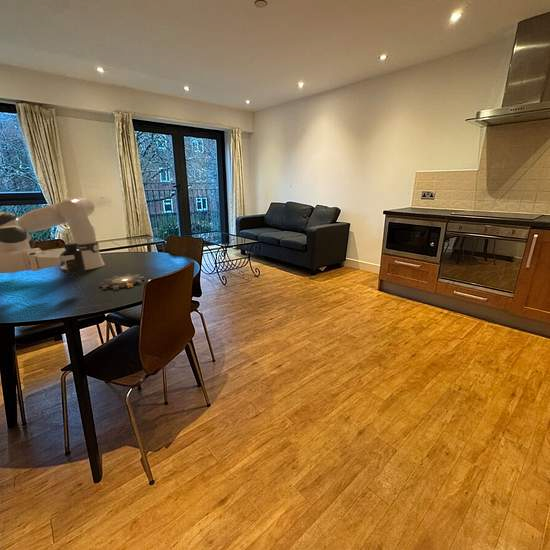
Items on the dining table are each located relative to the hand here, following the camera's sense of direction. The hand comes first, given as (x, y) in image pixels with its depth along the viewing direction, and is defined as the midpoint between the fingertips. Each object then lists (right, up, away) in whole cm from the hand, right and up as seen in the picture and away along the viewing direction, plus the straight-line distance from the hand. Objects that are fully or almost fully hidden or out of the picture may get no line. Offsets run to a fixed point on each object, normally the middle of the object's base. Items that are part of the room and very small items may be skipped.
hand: (75, 254), depth 129 cm
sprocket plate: (+13, -13, +14) cm, 23 cm away
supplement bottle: (-1, -7, +2) cm, 7 cm away
